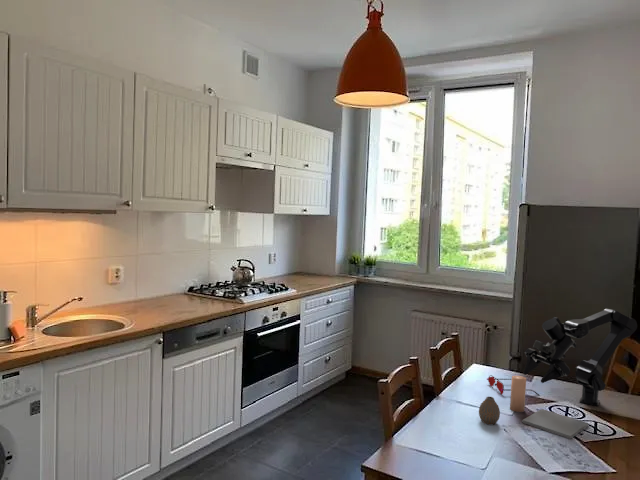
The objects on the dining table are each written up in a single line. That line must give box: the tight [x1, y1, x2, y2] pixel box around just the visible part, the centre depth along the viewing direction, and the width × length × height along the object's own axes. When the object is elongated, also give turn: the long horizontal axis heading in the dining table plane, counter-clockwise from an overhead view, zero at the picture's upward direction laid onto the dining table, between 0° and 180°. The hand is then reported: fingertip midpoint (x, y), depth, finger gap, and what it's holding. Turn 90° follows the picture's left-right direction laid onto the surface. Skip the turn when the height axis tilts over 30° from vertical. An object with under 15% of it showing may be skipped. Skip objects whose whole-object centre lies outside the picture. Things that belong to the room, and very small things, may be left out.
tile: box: [521, 408, 589, 440], centre depth 177 cm, size 16×16×1 cm
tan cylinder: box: [509, 375, 527, 413], centre depth 189 cm, size 5×5×12 cm
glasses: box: [486, 374, 540, 396], centre depth 212 cm, size 14×16×5 cm
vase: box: [478, 396, 501, 426], centre depth 177 cm, size 7×7×9 cm
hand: (532, 378), depth 191 cm, fingers open, 9 cm apart
